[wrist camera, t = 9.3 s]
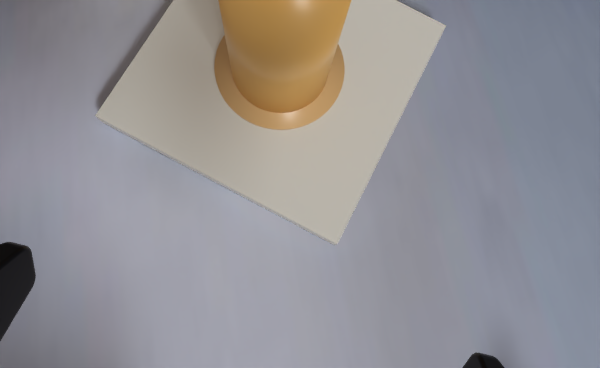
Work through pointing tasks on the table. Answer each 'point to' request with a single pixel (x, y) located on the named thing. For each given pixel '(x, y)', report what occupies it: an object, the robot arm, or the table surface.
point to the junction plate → (276, 126)
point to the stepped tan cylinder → (282, 48)
